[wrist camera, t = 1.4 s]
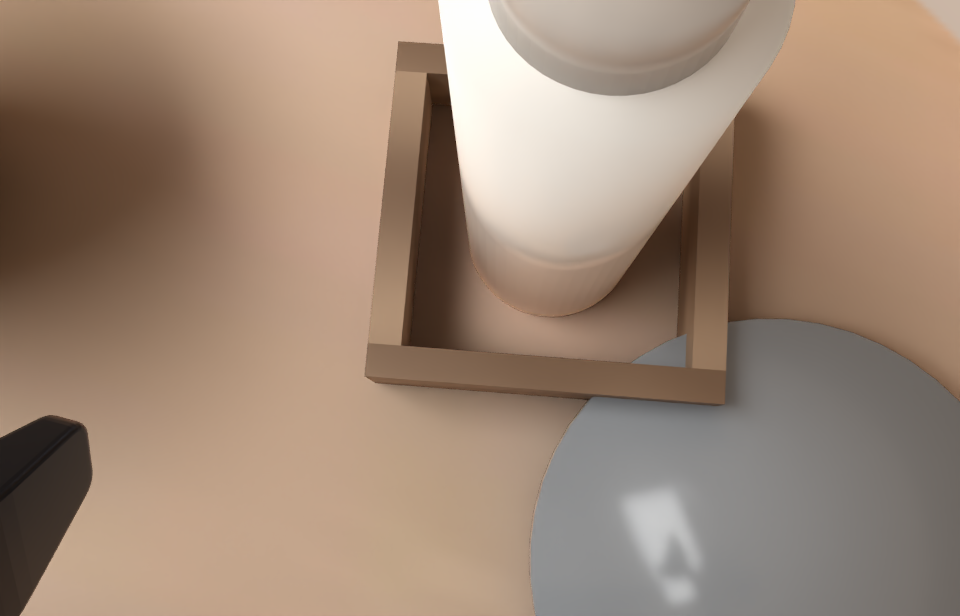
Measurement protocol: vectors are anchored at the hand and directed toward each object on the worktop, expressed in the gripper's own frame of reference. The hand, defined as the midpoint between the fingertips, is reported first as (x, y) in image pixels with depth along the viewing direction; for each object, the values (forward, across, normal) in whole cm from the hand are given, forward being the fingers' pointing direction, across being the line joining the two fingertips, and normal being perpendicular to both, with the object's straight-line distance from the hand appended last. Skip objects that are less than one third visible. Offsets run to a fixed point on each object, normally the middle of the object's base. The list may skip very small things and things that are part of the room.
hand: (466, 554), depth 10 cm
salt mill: (+14, 0, +4) cm, 15 cm away
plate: (+9, -7, +9) cm, 15 cm away
